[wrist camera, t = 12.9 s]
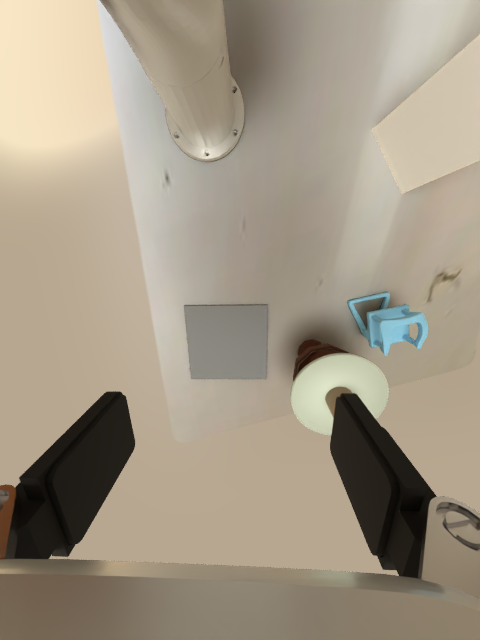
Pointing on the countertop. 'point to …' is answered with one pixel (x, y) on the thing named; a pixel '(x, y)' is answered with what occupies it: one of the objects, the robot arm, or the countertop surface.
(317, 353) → the ice cream bowl
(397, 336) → the chair
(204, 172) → the countertop surface
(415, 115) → the milk
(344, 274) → the countertop surface
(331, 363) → the lid
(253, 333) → the mat
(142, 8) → the robot arm
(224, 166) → the countertop surface
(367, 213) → the countertop surface
